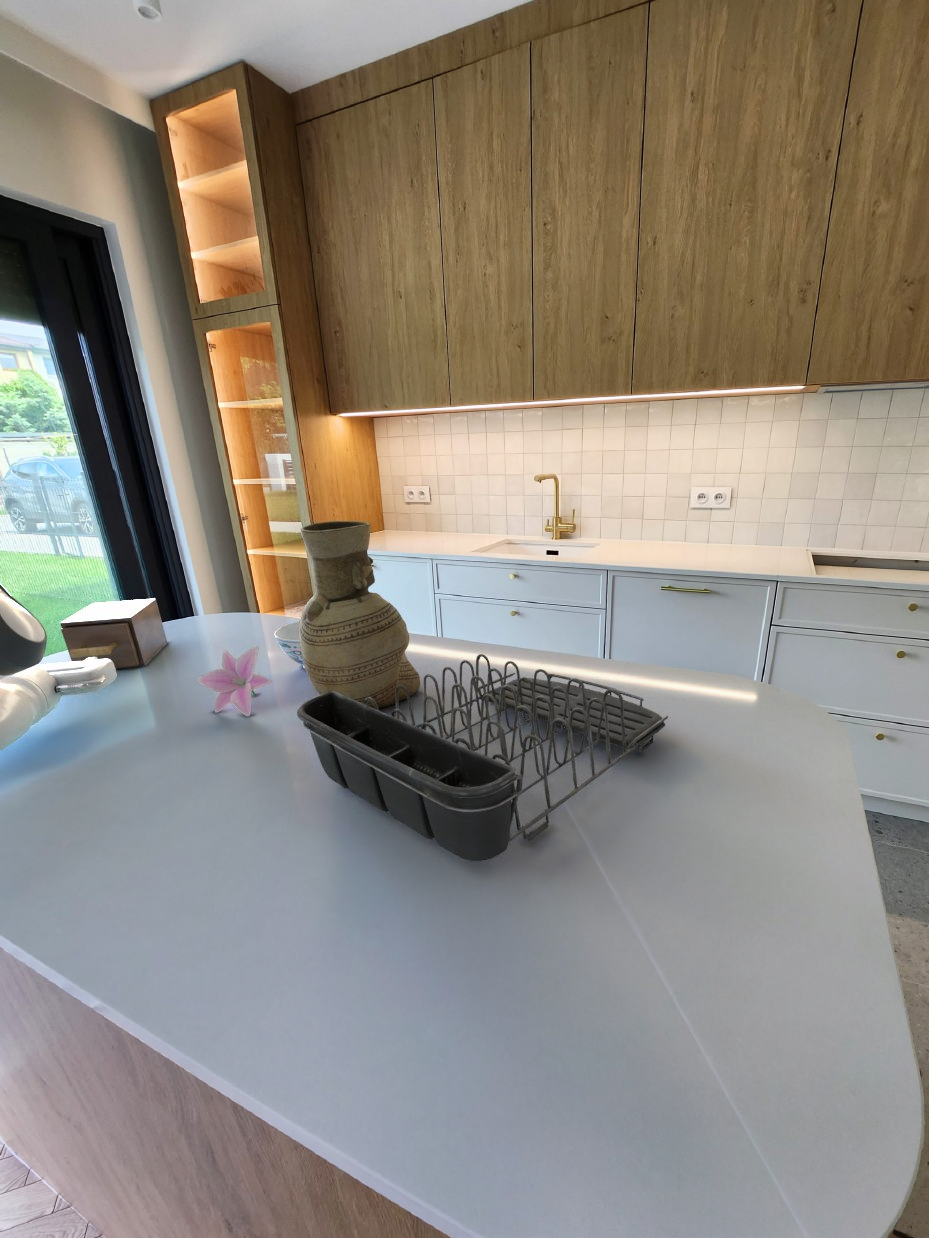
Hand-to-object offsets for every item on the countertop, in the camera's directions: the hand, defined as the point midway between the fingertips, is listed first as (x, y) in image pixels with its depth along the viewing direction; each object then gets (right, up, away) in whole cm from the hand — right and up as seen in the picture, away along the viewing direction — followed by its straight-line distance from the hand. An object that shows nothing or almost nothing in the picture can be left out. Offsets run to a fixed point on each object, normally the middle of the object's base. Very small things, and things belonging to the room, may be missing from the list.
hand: (64, 663), depth 104 cm
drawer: (-4, +1, +19) cm, 19 cm away
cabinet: (-5, +2, +23) cm, 24 cm away
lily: (+33, -8, -2) cm, 34 cm away
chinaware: (+40, 0, +16) cm, 43 cm away
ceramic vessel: (+54, -6, -1) cm, 54 cm away
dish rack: (+79, -15, -22) cm, 83 cm away
